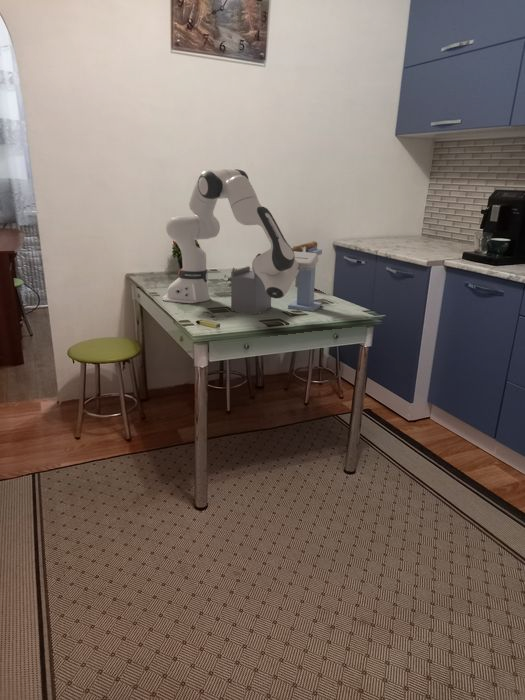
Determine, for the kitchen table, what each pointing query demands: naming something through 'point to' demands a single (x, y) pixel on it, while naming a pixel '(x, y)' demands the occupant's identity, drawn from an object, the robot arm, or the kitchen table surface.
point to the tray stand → (248, 292)
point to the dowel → (307, 245)
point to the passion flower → (230, 277)
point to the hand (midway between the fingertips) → (299, 247)
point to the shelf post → (306, 288)
